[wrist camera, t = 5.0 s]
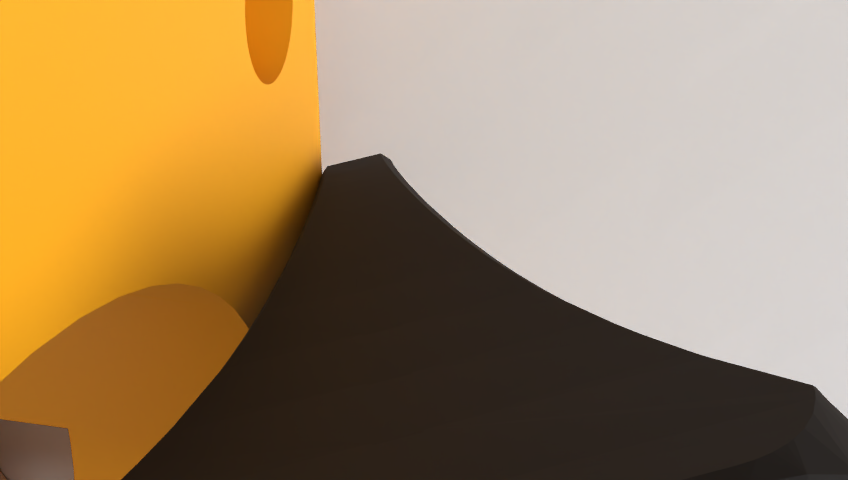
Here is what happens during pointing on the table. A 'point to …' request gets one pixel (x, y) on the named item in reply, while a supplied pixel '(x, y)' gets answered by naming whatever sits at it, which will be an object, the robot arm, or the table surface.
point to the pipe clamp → (144, 204)
